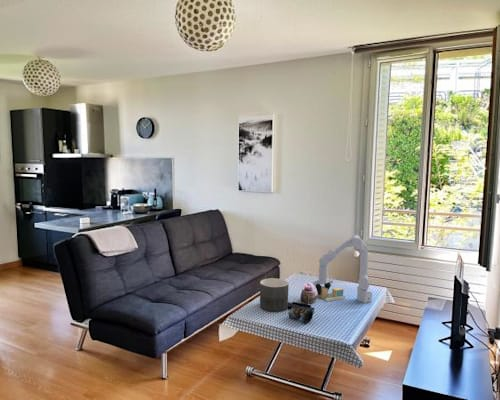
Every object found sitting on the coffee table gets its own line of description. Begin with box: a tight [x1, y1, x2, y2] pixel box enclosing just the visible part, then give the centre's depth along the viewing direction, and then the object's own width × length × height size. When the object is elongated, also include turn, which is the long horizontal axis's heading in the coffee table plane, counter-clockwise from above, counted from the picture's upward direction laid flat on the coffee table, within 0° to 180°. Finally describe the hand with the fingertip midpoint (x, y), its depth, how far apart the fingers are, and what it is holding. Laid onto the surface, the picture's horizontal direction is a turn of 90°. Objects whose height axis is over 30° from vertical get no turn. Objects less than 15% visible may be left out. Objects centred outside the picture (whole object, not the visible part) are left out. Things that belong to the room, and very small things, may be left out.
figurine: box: [287, 307, 314, 325], centre depth 223 cm, size 9×8×15 cm
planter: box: [259, 277, 289, 313], centre depth 242 cm, size 18×18×16 cm
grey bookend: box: [316, 292, 346, 302], centre depth 259 cm, size 12×15×3 cm
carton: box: [317, 285, 329, 298], centre depth 259 cm, size 6×4×6 cm, turn 24°
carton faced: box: [331, 287, 344, 297], centre depth 257 cm, size 6×4×6 cm, turn 114°
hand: (322, 294), depth 260 cm, fingers open, 5 cm apart
